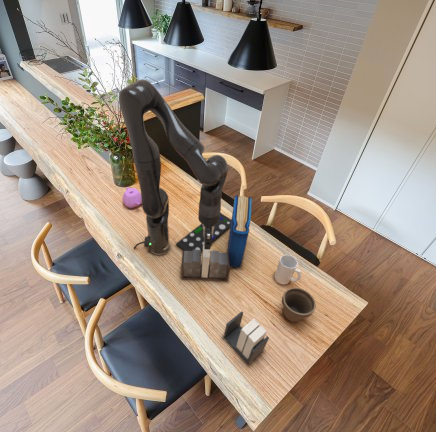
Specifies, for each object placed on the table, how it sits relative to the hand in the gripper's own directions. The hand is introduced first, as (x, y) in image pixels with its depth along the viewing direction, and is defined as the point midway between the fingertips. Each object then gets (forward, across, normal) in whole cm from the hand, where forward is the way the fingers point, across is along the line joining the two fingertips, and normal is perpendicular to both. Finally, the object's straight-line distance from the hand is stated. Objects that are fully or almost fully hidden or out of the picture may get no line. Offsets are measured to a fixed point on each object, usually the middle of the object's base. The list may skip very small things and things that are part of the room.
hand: (207, 240), depth 117 cm
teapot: (+22, -42, -38) cm, 61 cm away
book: (+22, -13, +14) cm, 29 cm away
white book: (+21, 0, 0) cm, 21 cm away
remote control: (+22, -22, +1) cm, 31 cm away
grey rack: (+22, 0, 0) cm, 22 cm away
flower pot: (+22, +17, +34) cm, 44 cm away
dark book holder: (+22, +30, +14) cm, 40 cm away
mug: (+22, +2, +34) cm, 40 cm away
